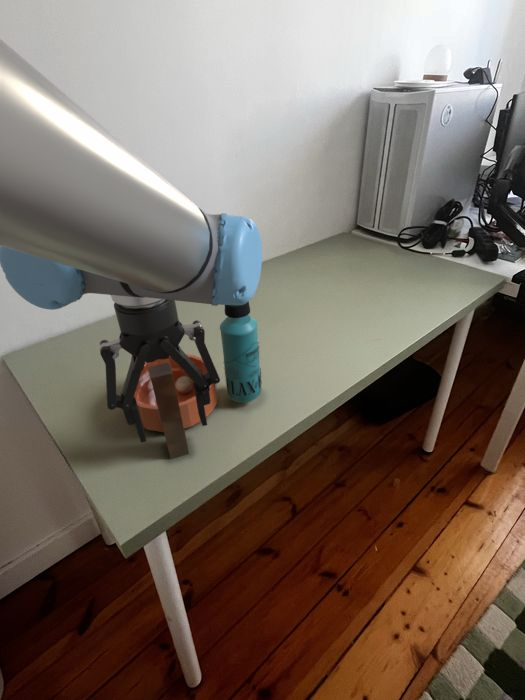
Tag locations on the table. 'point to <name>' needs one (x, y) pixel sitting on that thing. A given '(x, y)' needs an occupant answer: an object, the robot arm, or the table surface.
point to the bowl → (186, 401)
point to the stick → (169, 409)
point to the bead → (184, 385)
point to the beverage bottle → (241, 353)
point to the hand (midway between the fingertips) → (173, 427)
